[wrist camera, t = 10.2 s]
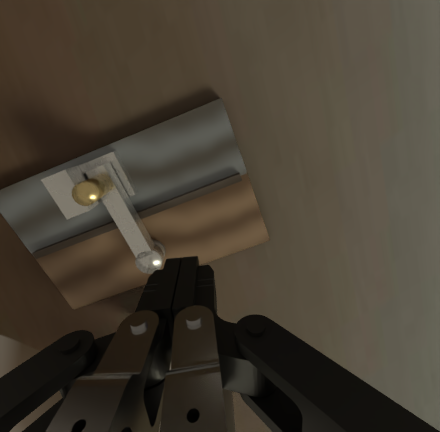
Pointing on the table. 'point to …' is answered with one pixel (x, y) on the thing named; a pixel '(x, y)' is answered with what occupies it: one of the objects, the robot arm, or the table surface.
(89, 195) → the swing bar
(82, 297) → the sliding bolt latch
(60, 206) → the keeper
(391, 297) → the table surface
